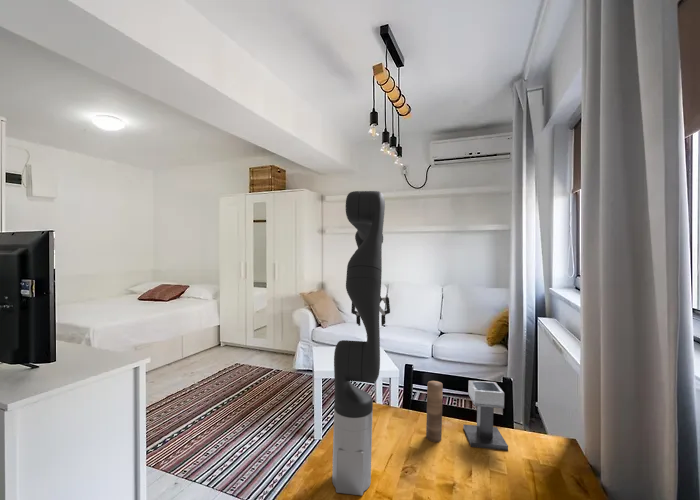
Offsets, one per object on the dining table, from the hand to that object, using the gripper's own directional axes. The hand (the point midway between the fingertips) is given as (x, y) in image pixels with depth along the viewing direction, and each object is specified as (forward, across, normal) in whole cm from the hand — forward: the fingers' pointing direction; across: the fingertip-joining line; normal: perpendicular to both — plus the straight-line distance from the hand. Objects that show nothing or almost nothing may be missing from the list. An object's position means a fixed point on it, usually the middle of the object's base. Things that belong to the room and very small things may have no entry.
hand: (371, 325), depth 122 cm
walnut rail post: (+30, +18, -20) cm, 40 cm away
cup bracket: (+31, +33, -18) cm, 49 cm away
